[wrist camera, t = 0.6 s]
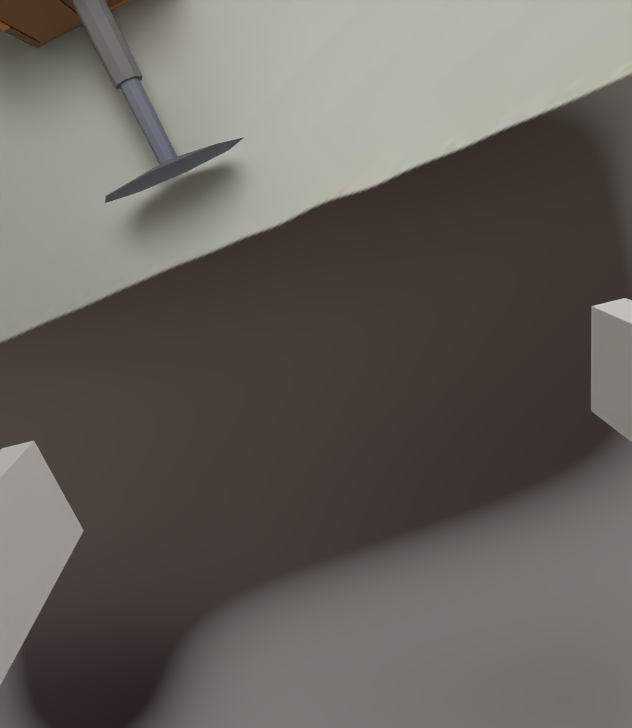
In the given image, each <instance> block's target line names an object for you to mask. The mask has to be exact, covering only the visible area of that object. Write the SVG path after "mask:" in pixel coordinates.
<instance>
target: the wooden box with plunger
mask: <svg viewBox="0 0 632 728" xmlns="http://www.w3.org/2000/svg"><path fill="white" fill-rule="evenodd" d="M128 1H130V0H0V29H1V30H3V31H5V32H7V33H9V34H11V35H13V36H15V37H17V38H19V39H21V40H23V41H24V42H26V43H28V44H30V45H32V46H34V47H36V48H37V47H39V46H41V45H43V44H45V43H47V42H49V41H51V40H53V39H55V38H57V37H59V36H61V35H63V34H65V33H67V32H69V31H71V30H73V29H75V28H77V27H79V26H81V25H84V27H85V29H86V31H87V33H88V35H89V37H90V39H91V41H92V43H93V45H94V47H95V49H96V50H97V52H98V54H99V56H100V58H101V60H102V62H103V64H104V66H105V68H106V70H107V72H108V74H109V76H110V78H111V80H112V82H113V83H114V85H115V87H116V89H122V91H123V93H124V95H125V97H126V99H127V101H128V103H129V105H130V107H131V109H132V111H133V113H134V115H135V117H136V119H137V121H138V123H139V125H140V127H141V129H142V131H143V132H144V134H145V136H146V138H147V140H148V142H149V144H150V146H151V148H152V150H153V152H154V154H155V156H156V158H157V160H158V162H159V164H160V165H158V166H156V167H155V168H153V169H151V170H150V171H148V172H146V173H144V174H143V175H141V176H139V177H138V178H136V179H134V180H132V181H131V182H129V183H127V184H126V185H124V186H122V187H121V188H119V189H117V190H115V191H114V192H112V193H110V194H109V195H107V196H106V200H105V203H106V202H109V201H112V200H116V199H119V198H122V197H125V196H128V195H131V194H134V193H137V192H140V191H143V190H145V189H147V188H150V187H152V186H154V185H157V184H159V183H161V182H163V181H166V180H168V179H170V178H173V177H175V176H177V175H180V174H182V173H184V172H187V171H189V170H191V169H193V168H195V167H197V166H199V165H200V164H202V163H204V162H206V161H208V160H210V159H212V158H214V157H216V156H218V155H220V154H222V153H224V152H226V151H228V150H229V149H231V148H232V147H233V146H234V145H235V144H237V143H238V142H239V141H240V140H242V139H243V138H240V139H236V140H231V141H227V142H223V143H219V144H215V145H212V146H209V147H206V148H202V149H199V150H196V151H193V152H190V153H187V154H184V155H181V156H178V157H177V155H176V153H175V151H174V149H173V147H172V145H171V143H170V141H169V139H168V137H167V135H166V133H165V131H164V129H163V127H162V125H161V123H160V121H159V119H158V117H157V115H156V113H155V111H154V109H153V107H152V105H151V103H150V101H149V99H148V97H147V95H146V92H145V90H144V88H143V86H142V84H141V82H140V80H141V79H142V74H141V72H140V70H139V68H138V66H137V64H136V62H135V60H134V58H133V56H132V54H131V52H130V50H129V48H128V46H127V44H126V42H125V40H124V38H123V36H122V34H121V32H120V30H119V28H118V26H117V24H116V22H115V19H114V17H113V15H112V13H111V11H110V10H112V9H114V8H116V7H118V6H120V5H122V4H124V3H126V2H128Z"/></svg>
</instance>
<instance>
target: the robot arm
mask: <svg viewBox="0 0 632 728" xmlns="http://www.w3.org/2000/svg"><path fill="white" fill-rule="evenodd" d="M591 346H592V347H591V350H592V351H591V411H592V412H594V413H595V414H596V415H597V416H599V417H600V418H601V419H603V420H604V421H605V422H607V423H608V424H609V425H610V426H612V427H613V428H614V429H616V430H617V431H618V432H619V433H621V434H622V435H624V436H625V437H626V438H627V439H628V440H630V441H631V442H632V301H631V300H629V299H626V298H624V299H620V300H616V301H611V302H607V303H603V304H599V305H595V306H592V340H591ZM82 532H83V529H82V527H81V525H80V523H79V522H78V520H77V518H76V516H75V514H74V513H73V511H72V509H71V507H70V505H69V503H68V502H67V500H66V498H65V496H64V494H63V492H62V491H61V489H60V487H59V485H58V483H57V482H56V480H55V478H54V476H53V474H52V473H51V471H50V469H49V467H48V465H47V463H46V462H45V460H44V458H43V456H42V454H41V453H40V451H39V449H38V447H37V445H36V444H35V442H34V441H30V442H27V443H22V444H18V445H14V446H10V447H6V448H2V449H1V450H0V685H1V683H2V681H3V679H4V677H5V675H6V673H7V672H8V670H9V668H10V666H11V664H12V662H13V661H14V659H15V657H16V655H17V653H18V651H19V649H20V648H21V646H22V644H23V642H24V640H25V638H26V636H27V635H28V633H29V631H30V629H31V627H32V625H33V623H34V621H35V620H36V618H37V616H38V614H39V612H40V610H41V609H42V607H43V605H44V603H45V601H46V599H47V597H48V596H49V594H50V592H51V590H52V588H53V586H54V584H55V582H56V581H57V579H58V577H59V575H60V573H61V571H62V570H63V568H64V566H65V564H66V562H67V560H68V558H69V556H70V555H71V553H72V551H73V549H74V547H75V546H76V544H77V542H78V540H79V537H80V536H81V534H82Z"/></svg>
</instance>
